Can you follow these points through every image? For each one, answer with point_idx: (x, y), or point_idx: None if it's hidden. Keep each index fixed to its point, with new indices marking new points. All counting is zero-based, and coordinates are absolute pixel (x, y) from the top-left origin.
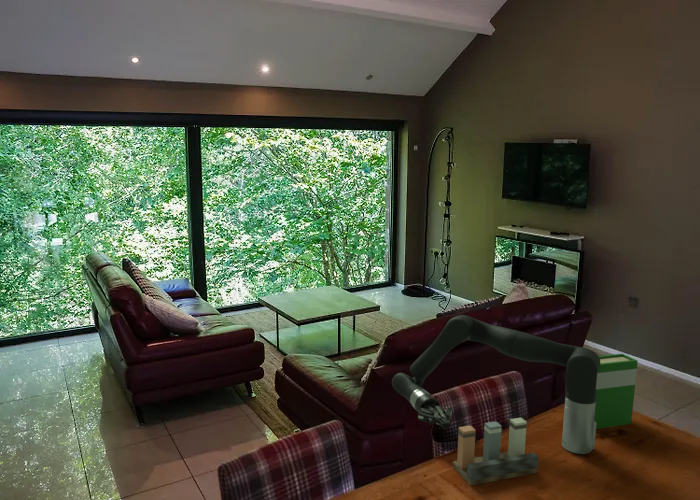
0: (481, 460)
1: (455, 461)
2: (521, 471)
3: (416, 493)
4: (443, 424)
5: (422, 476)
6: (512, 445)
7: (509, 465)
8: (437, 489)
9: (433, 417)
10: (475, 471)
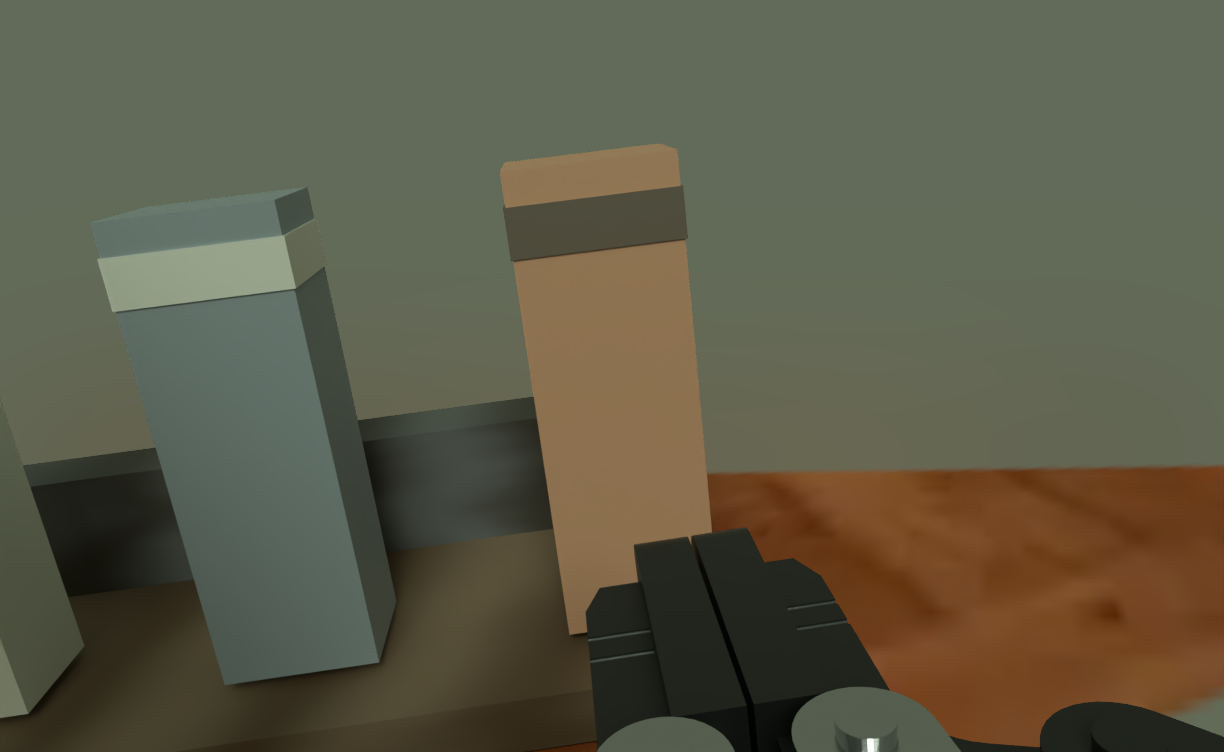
0: (402, 667)
1: None
2: None
3: (1149, 472)
4: (787, 569)
5: (1134, 600)
6: (20, 529)
7: None
8: (970, 497)
9: (1111, 716)
10: None
